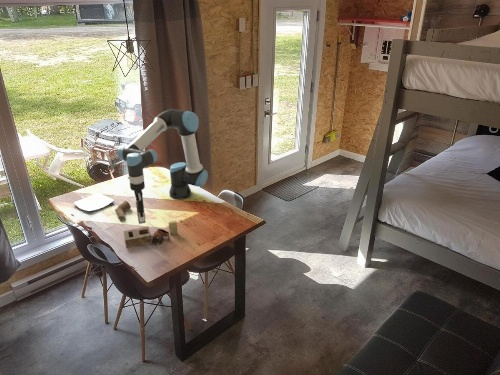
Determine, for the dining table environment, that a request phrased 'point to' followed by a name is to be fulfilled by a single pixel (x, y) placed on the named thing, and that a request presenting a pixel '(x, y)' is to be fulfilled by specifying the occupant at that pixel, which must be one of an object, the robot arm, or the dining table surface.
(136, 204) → the square steel bit
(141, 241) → the socket block
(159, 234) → the pottery mug
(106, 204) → the plate
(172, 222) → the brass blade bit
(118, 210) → the pipe
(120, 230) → the dining table surface
